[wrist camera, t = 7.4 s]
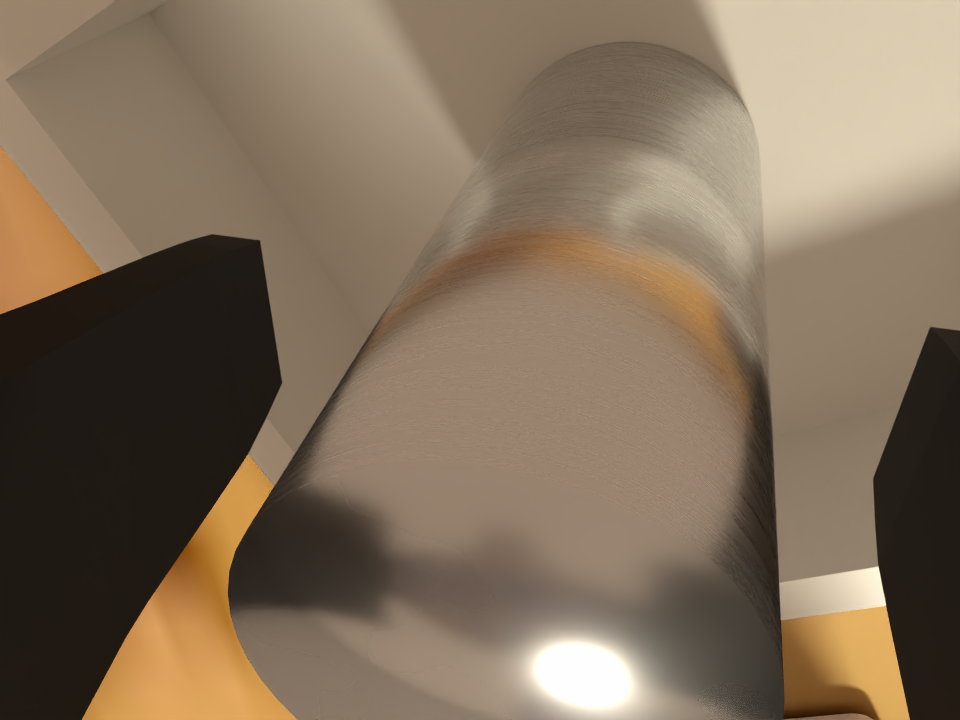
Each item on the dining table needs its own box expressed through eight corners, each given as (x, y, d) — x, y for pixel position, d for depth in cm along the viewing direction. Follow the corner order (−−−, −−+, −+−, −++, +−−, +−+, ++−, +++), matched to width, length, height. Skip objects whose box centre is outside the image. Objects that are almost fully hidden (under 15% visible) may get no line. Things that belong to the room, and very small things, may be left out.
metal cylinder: (790, 57, 12) (864, 542, 5) (730, 305, 14) (716, 878, 7) (504, 27, 12) (185, 410, 5) (491, 268, 15) (260, 755, 8)
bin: (1148, 362, 14) (1274, 550, 10) (475, 519, 19) (423, 671, 16) (945, -640, 8) (1072, -871, 5) (106, -19, 14) (-77, 48, 11)
